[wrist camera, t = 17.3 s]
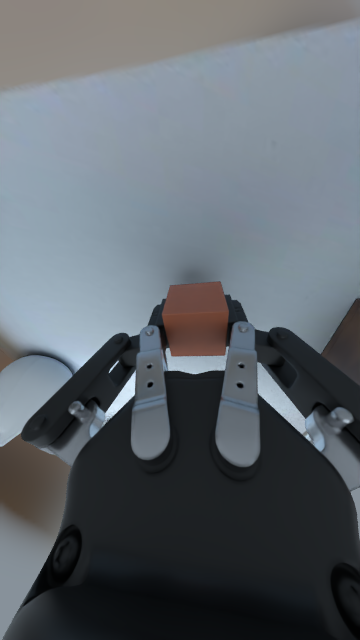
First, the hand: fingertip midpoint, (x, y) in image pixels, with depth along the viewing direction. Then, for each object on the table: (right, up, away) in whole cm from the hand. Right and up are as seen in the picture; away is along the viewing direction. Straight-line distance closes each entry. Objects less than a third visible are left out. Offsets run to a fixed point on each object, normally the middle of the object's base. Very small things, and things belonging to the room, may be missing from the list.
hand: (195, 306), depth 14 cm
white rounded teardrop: (-26, -10, +17) cm, 32 cm away
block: (0, 0, 0) cm, 0 cm away
